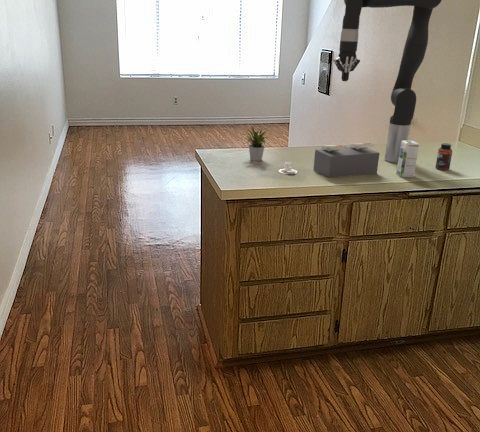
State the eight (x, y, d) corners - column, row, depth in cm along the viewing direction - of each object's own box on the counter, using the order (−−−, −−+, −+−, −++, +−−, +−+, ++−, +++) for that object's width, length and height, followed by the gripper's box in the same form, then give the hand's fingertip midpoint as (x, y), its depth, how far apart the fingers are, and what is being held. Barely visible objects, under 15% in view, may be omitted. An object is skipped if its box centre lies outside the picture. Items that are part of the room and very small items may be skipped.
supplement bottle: (449, 168, 236) (453, 143, 232) (449, 171, 231) (454, 146, 227) (435, 166, 238) (439, 141, 234) (435, 169, 233) (439, 144, 229)
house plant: (232, 160, 234) (233, 124, 228) (243, 154, 246) (245, 119, 240) (262, 165, 229) (264, 127, 223) (272, 158, 241) (275, 122, 235)
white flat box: (359, 148, 229) (359, 143, 228) (373, 148, 220) (373, 143, 219) (349, 149, 227) (349, 143, 226) (363, 149, 218) (363, 143, 217)
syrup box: (395, 173, 225) (400, 140, 219) (409, 173, 225) (414, 140, 220) (400, 177, 219) (405, 143, 214) (414, 177, 220) (419, 143, 215)
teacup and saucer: (296, 176, 216) (296, 166, 215) (276, 174, 218) (277, 165, 216) (298, 170, 224) (298, 161, 223) (279, 169, 226) (280, 159, 224)
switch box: (360, 166, 234) (362, 146, 231) (376, 173, 224) (379, 152, 220) (313, 170, 225) (315, 149, 222) (328, 177, 214) (330, 156, 211)
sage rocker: (332, 150, 223) (332, 144, 223) (345, 151, 214) (345, 145, 214) (321, 151, 222) (321, 145, 221) (335, 151, 212) (335, 145, 212)
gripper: (340, 40, 222) (336, 82, 229) (366, 40, 227) (362, 82, 234) (331, 39, 229) (327, 80, 235) (356, 39, 234) (352, 79, 240)
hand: (344, 81), depth 234 cm, fingers closed
